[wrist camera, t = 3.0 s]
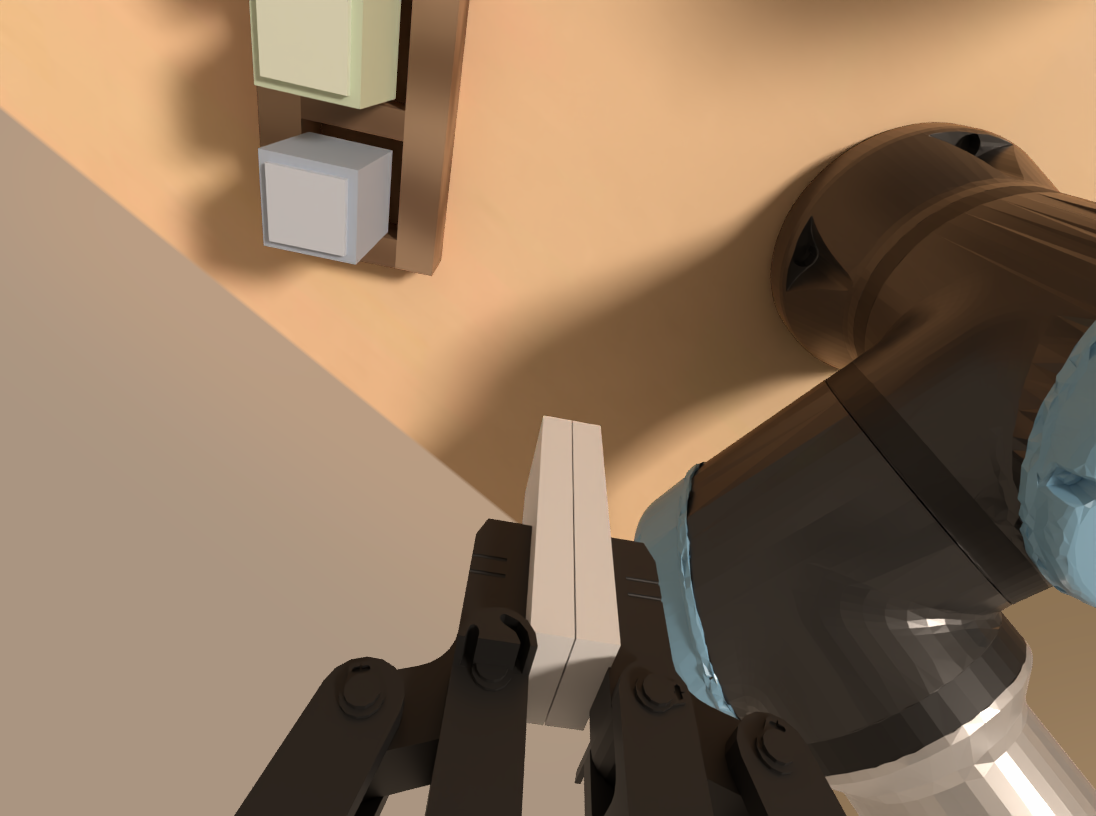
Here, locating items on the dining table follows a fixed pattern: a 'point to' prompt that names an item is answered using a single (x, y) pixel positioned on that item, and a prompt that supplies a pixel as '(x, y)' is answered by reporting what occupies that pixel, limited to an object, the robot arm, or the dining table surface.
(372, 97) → the sage button
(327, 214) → the slate button
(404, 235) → the wooden tray
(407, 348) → the dining table surface
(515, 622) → the robot arm
